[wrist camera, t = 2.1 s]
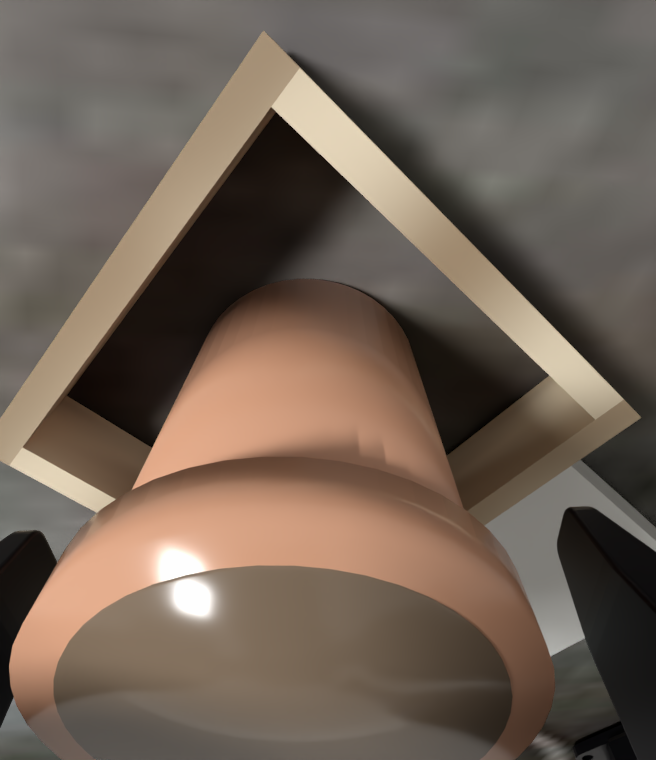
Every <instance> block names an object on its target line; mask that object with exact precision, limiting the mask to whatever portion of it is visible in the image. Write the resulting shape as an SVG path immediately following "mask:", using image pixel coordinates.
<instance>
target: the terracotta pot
mask: <svg viewBox="0 0 656 760" xmlns="http://www.w3.org/2000/svg"><path fill="white" fill-rule="evenodd" d="M9 673H10V686H11V690H12V693H13V696H14V699H15V702H16V705H17V707H18V709H19V711H20V712H21V714H22V716H23V718H24V719H25V721H26V723H27V725H28V726H29V727H30V728H31V729H32V731H33V732H34V733H35V734H36V735H37V737H38V738H39V739H40V740H41V741H42V742H43V743H44V744H45V745H46V746H47V747H48V748H49V749H50V750H51V751H53V752H54V753H55V754H56V755H57V756H58V757H59V758H61V759H62V760H515V759H516V758H517V757H518V756H519V755H520V754H521V753H522V752H523V751H524V750H525V749H526V748H527V747H528V746H529V745H530V744H531V743H532V741H533V740H534V739H535V737H536V736H537V734H538V733H539V731H540V730H541V728H542V727H543V725H544V723H545V721H546V719H547V716H548V714H549V712H550V709H551V707H552V702H553V696H554V691H555V678H554V666H553V663H552V660H551V657H550V654H549V650H548V647H547V645H546V642H545V640H544V637H543V634H542V632H541V629H540V627H539V624H538V622H537V619H536V617H535V614H534V612H533V609H532V607H531V604H530V602H529V599H528V597H527V594H526V592H525V589H524V586H523V584H522V581H521V579H520V576H519V574H518V571H517V569H516V567H515V566H514V564H513V562H512V560H511V558H510V557H509V555H508V553H507V551H506V550H505V548H504V547H503V546H502V545H501V544H500V542H499V541H498V540H497V539H496V538H495V536H494V535H493V534H492V533H491V532H490V530H489V529H487V528H486V527H485V526H484V525H483V524H482V523H481V522H479V521H478V520H477V519H476V518H475V517H474V516H472V515H471V514H470V513H469V512H468V511H466V510H465V509H464V508H463V505H462V502H461V499H460V496H459V493H458V490H457V487H456V484H455V481H454V478H453V474H452V471H451V468H450V465H449V462H448V459H447V456H446V453H445V450H444V447H443V444H442V441H441V438H440V435H439V432H438V429H437V425H436V422H435V419H434V416H433V413H432V410H431V407H430V404H429V401H428V398H427V395H426V392H425V389H424V386H423V383H422V380H421V376H420V373H419V370H418V367H417V364H416V361H415V358H414V355H413V352H412V349H411V346H410V344H409V341H408V339H407V337H406V335H405V333H404V331H403V330H402V328H401V327H400V325H399V324H398V322H397V321H396V320H395V318H394V317H393V316H392V315H391V314H390V313H389V312H388V311H387V310H386V309H385V308H384V307H383V306H381V305H380V304H379V303H377V302H376V301H375V300H374V299H372V298H371V297H369V296H367V295H365V294H364V293H362V292H360V291H358V290H356V289H353V288H351V287H348V286H346V285H343V284H339V283H335V282H331V281H325V280H318V279H293V280H285V281H280V282H276V283H272V284H268V285H265V286H263V287H260V288H258V289H255V290H253V291H251V292H250V293H248V294H246V295H244V296H242V297H241V298H239V299H238V300H237V301H236V302H234V303H233V304H232V305H230V306H229V307H228V308H227V309H226V310H225V311H224V312H223V313H222V314H221V315H220V316H219V318H218V319H217V321H216V322H215V323H214V325H213V326H212V328H211V329H210V331H209V333H208V335H207V337H206V339H205V341H204V343H203V345H202V347H201V349H200V352H199V354H198V356H197V358H196V360H195V362H194V364H193V366H192V368H191V370H190V372H189V374H188V376H187V378H186V380H185V382H184V384H183V386H182V388H181V390H180V392H179V394H178V396H177V398H176V401H175V403H174V405H173V407H172V409H171V411H170V413H169V415H168V417H167V419H166V421H165V423H164V425H163V427H162V429H161V431H160V433H159V435H158V437H157V439H156V441H155V443H154V445H153V447H152V450H151V452H150V454H149V456H148V458H147V460H146V462H145V464H144V466H143V468H142V470H141V472H140V474H139V476H138V478H137V480H136V482H135V484H134V486H133V488H132V490H131V491H129V492H127V493H125V494H123V495H122V496H120V497H119V498H117V499H116V500H114V501H113V502H111V503H110V504H108V505H107V506H105V507H104V508H102V509H101V510H99V511H98V512H97V513H96V514H95V515H94V516H93V517H92V518H91V519H90V520H89V521H88V522H87V523H86V524H85V525H83V526H82V527H81V528H80V530H79V531H78V532H77V534H76V535H75V536H74V538H73V539H72V540H71V542H70V543H69V544H68V546H67V547H66V549H65V550H64V552H63V554H62V556H61V557H60V559H59V561H58V563H57V564H56V566H55V568H54V570H53V571H52V573H51V575H50V577H49V578H48V580H47V582H46V584H45V585H44V587H43V589H42V591H41V592H40V594H39V596H38V598H37V599H36V601H35V603H34V605H33V606H32V608H31V610H30V612H29V613H28V615H27V617H26V619H25V620H24V622H23V624H22V626H21V628H20V630H19V633H18V635H17V637H16V639H15V641H14V644H13V646H12V652H11V658H10V663H9Z"/></svg>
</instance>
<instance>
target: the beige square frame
mask: <svg viewBox="0 0 656 760" xmlns="http://www.w3.org/2000/svg"><path fill="white" fill-rule="evenodd" d="M276 112H277V113H278V114H279V115H280V116H281V117H282V118H283V119H284V120H285V121H286V122H287V123H288V124H289V125H290V126H291V127H293V128H294V129H295V130H296V131H297V132H298V133H299V134H300V135H301V136H302V137H303V138H304V139H305V140H306V141H307V142H308V143H309V144H310V145H311V146H312V147H313V148H314V149H315V150H316V151H317V152H318V153H319V154H320V155H322V156H323V157H324V158H325V159H326V160H327V161H328V162H329V163H330V164H331V165H332V166H333V167H334V168H335V169H336V170H337V171H338V172H339V173H340V174H341V175H342V176H343V177H344V178H345V179H346V180H347V181H348V182H349V183H351V184H352V185H353V186H354V187H355V188H356V189H357V190H358V191H359V192H360V193H361V194H362V195H363V196H364V197H365V198H366V199H367V200H368V201H369V202H370V203H371V204H372V205H373V206H374V207H375V208H376V209H377V210H379V211H380V212H381V213H382V214H383V215H384V216H385V217H386V218H387V219H388V220H389V221H390V222H391V223H392V224H393V225H394V226H395V227H396V228H397V229H398V230H399V231H400V232H401V233H402V234H403V235H404V236H405V237H406V238H408V239H409V240H410V241H411V242H412V243H413V244H414V245H415V246H416V247H417V248H418V249H419V250H420V251H421V252H422V253H423V254H424V255H425V256H426V257H427V258H428V259H429V260H430V261H431V262H432V263H433V264H434V265H435V266H437V267H438V268H439V269H440V270H441V271H442V272H443V273H444V274H445V275H446V276H447V277H448V278H449V279H450V280H451V281H452V282H453V283H454V284H455V285H456V286H457V287H458V288H459V289H460V290H461V291H462V292H463V293H465V294H466V295H467V296H468V297H469V298H470V299H471V300H472V301H473V302H474V303H475V304H476V305H477V306H478V307H479V308H480V309H481V310H482V311H483V312H484V313H485V314H486V315H487V316H488V317H489V318H490V319H491V320H492V321H494V322H495V323H496V324H497V325H498V326H499V327H500V328H501V329H502V330H503V331H504V332H505V333H506V334H507V335H508V336H509V337H510V338H511V339H512V340H513V341H514V342H515V343H516V344H517V345H518V346H519V347H520V348H521V349H523V350H524V351H525V352H526V353H527V354H528V355H529V356H530V357H531V358H532V359H533V360H534V361H535V362H536V363H537V364H538V365H539V366H540V367H541V368H542V369H543V370H544V371H545V372H546V373H547V374H548V375H549V376H548V377H547V378H546V379H544V380H543V381H542V382H540V383H539V384H538V385H537V386H535V387H534V388H533V389H532V390H530V391H529V392H528V393H526V394H525V395H524V396H523V397H521V398H520V399H519V400H517V401H516V402H515V403H514V404H512V405H511V406H510V407H509V408H507V409H506V410H505V411H503V412H502V413H501V414H500V415H498V416H497V417H496V418H494V419H493V420H492V421H491V422H489V423H488V424H487V425H486V426H484V427H483V428H482V429H480V430H479V431H478V432H477V433H475V434H474V435H473V436H471V437H470V438H469V439H468V440H466V441H465V442H464V443H463V444H461V445H460V446H459V447H457V448H456V449H455V450H454V451H452V452H451V453H450V454H448V455H447V459H448V462H449V465H450V468H451V471H452V474H453V478H454V481H455V484H456V487H457V490H458V493H459V496H460V499H461V502H462V505H463V508H464V509H465V510H466V511H468V512H469V513H470V514H471V515H472V516H474V517H475V518H476V519H477V520H478V521H479V522H481V523H482V524H483V525H484V526H485V525H486V524H487V523H489V522H490V521H492V520H493V519H495V518H496V517H498V516H499V515H501V514H502V513H503V512H505V511H506V510H508V509H509V508H511V507H512V506H514V505H515V504H517V503H518V502H519V501H521V500H522V499H524V498H525V497H527V496H528V495H530V494H531V493H533V492H534V491H535V490H537V489H538V488H540V487H541V486H543V485H544V484H546V483H547V482H549V481H550V480H551V479H553V478H554V477H556V476H557V475H559V474H560V473H562V472H563V471H565V470H566V469H567V468H569V467H570V466H572V465H573V464H575V463H576V462H578V461H579V460H581V459H582V458H583V457H585V456H586V455H588V454H589V453H591V452H592V451H594V450H595V449H597V448H598V447H599V446H601V445H602V444H604V443H605V442H607V441H608V440H610V439H611V438H613V437H614V436H615V435H617V434H618V433H620V432H621V431H623V430H624V429H626V428H627V427H629V426H630V425H631V424H633V423H634V422H636V421H637V420H639V419H640V418H641V417H640V415H639V414H638V413H637V412H636V411H635V410H634V409H633V408H632V407H631V406H630V405H629V404H628V403H627V402H626V401H625V400H624V399H623V398H622V397H621V396H620V395H619V394H618V393H617V392H616V391H615V390H614V388H613V387H612V386H611V385H610V384H609V383H608V382H607V381H606V380H605V379H604V378H603V377H602V376H601V375H600V374H599V373H598V372H597V371H596V370H595V369H594V368H593V367H592V366H591V365H590V364H589V363H588V362H587V361H586V360H585V358H584V357H583V356H582V355H581V354H580V353H579V352H578V351H577V350H576V349H575V348H574V347H573V346H572V345H571V344H570V343H569V342H568V341H567V340H566V339H565V338H564V337H563V336H562V335H561V334H560V333H559V332H558V331H557V330H556V329H555V328H554V327H553V326H552V325H551V324H550V323H549V322H548V321H547V320H546V319H545V318H544V316H543V315H542V314H541V313H540V312H539V311H538V310H537V309H536V308H535V307H534V306H533V305H532V304H531V303H530V302H529V301H528V300H527V299H526V298H525V297H524V296H523V295H522V294H521V293H520V292H519V291H518V290H517V289H516V288H515V287H514V286H513V285H512V284H511V283H510V282H509V281H508V280H507V279H506V278H505V277H504V276H503V274H502V273H501V272H500V271H499V270H498V269H497V268H496V267H495V266H494V265H493V264H492V263H491V262H490V261H489V260H488V259H487V258H486V257H485V256H484V255H483V254H482V253H481V252H480V251H479V250H478V249H477V248H476V247H475V246H474V245H473V244H472V243H471V242H470V241H469V240H468V239H467V238H466V237H465V236H464V235H463V234H462V232H461V231H460V230H459V229H458V228H457V227H456V226H455V225H454V224H453V223H452V222H451V221H450V220H449V219H448V218H447V217H446V216H445V215H444V214H443V213H442V212H441V211H440V210H439V209H438V208H437V207H436V206H435V205H434V204H433V203H432V202H431V201H430V200H429V199H428V198H427V197H426V196H425V195H424V194H423V193H422V192H421V190H420V189H419V188H418V187H417V186H416V185H415V184H414V183H413V182H412V181H411V180H410V179H409V178H408V177H407V176H406V175H405V174H404V173H403V172H402V171H401V170H400V169H399V168H398V167H397V166H396V165H395V164H394V163H393V162H392V161H391V160H390V159H389V158H388V157H387V156H386V155H385V154H384V153H383V152H382V151H381V150H380V148H379V147H378V146H377V145H376V144H375V143H374V142H373V141H372V140H371V139H370V138H369V137H368V136H367V135H366V134H365V133H364V132H363V131H362V130H361V129H360V128H359V127H358V126H357V125H356V124H355V123H354V122H353V121H352V120H351V119H350V118H349V117H348V116H347V115H346V114H345V113H344V112H343V111H342V110H341V109H340V108H339V106H338V105H337V104H336V103H335V102H334V101H333V100H332V99H331V98H330V97H329V96H328V95H327V94H326V93H325V92H324V91H323V90H322V89H321V88H320V87H319V86H318V85H317V84H316V83H315V82H314V81H313V80H312V79H311V78H310V77H309V76H308V75H307V74H306V73H305V72H304V71H303V70H302V69H301V68H300V67H299V66H298V64H297V63H296V62H295V61H294V60H293V59H292V58H291V57H290V56H289V55H288V54H287V53H286V52H285V51H284V50H283V49H282V48H281V47H280V46H279V45H278V44H277V43H276V42H275V41H274V40H273V39H272V38H271V37H270V36H269V35H268V34H266V33H265V32H264V31H263V32H262V34H261V35H260V36H259V38H258V39H257V41H256V42H255V44H254V45H253V47H252V48H251V50H250V51H249V53H248V54H247V56H246V57H245V59H244V60H243V62H242V63H241V64H240V66H239V67H238V69H237V70H236V72H235V73H234V75H233V76H232V78H231V79H230V81H229V82H228V84H227V85H226V87H225V88H224V90H223V91H222V93H221V94H220V95H219V97H218V98H217V100H216V101H215V103H214V104H213V106H212V107H211V109H210V110H209V112H208V113H207V115H206V116H205V118H204V119H203V121H202V122H201V123H200V125H199V126H198V128H197V129H196V131H195V132H194V134H193V135H192V137H191V138H190V140H189V141H188V143H187V144H186V146H185V147H184V149H183V150H182V151H181V153H180V154H179V156H178V157H177V159H176V160H175V162H174V163H173V165H172V166H171V168H170V169H169V171H168V172H167V174H166V175H165V177H164V178H163V179H162V181H161V182H160V184H159V185H158V187H157V188H156V190H155V191H154V193H153V194H152V196H151V197H150V199H149V200H148V202H147V203H146V205H145V206H144V207H143V209H142V210H141V212H140V213H139V215H138V216H137V218H136V219H135V221H134V222H133V224H132V225H131V227H130V228H129V230H128V231H127V233H126V234H125V235H124V237H123V238H122V240H121V241H120V243H119V244H118V246H117V247H116V249H115V250H114V252H113V253H112V255H111V256H110V258H109V259H108V261H107V262H106V264H105V265H104V266H103V268H102V269H101V271H100V272H99V274H98V275H97V277H96V278H95V280H94V281H93V283H92V284H91V286H90V287H89V289H88V290H87V292H86V293H85V294H84V296H83V297H82V299H81V300H80V302H79V303H78V305H77V306H76V308H75V309H74V311H73V312H72V314H71V315H70V317H69V318H68V320H67V321H66V322H65V324H64V325H63V327H62V328H61V330H60V331H59V333H58V334H57V336H56V337H55V339H54V340H53V342H52V343H51V345H50V346H49V348H48V349H47V350H46V352H45V353H44V355H43V356H42V358H41V359H40V361H39V362H38V364H37V365H36V367H35V368H34V370H33V371H32V373H31V374H30V376H29V377H28V378H27V380H26V381H25V383H24V384H23V386H22V387H21V389H20V390H19V392H18V393H17V395H16V396H15V398H14V399H13V401H12V402H11V404H10V405H9V407H8V408H7V409H6V411H5V412H4V414H3V415H2V417H1V418H0V461H2V462H4V463H5V464H7V465H9V466H11V467H13V468H15V469H17V470H18V471H20V472H22V473H24V474H26V475H28V476H30V477H31V478H33V479H35V480H37V481H39V482H41V483H43V484H44V485H46V486H48V487H50V488H52V489H54V490H56V491H57V492H59V493H61V494H63V495H65V496H67V497H69V498H70V499H72V500H74V501H76V502H78V503H80V504H82V505H83V506H85V507H87V508H89V509H91V510H93V511H95V512H96V513H97V512H98V511H99V510H101V509H102V508H104V507H105V506H107V505H108V504H110V503H111V502H113V501H114V500H116V499H117V498H119V497H120V496H122V495H123V494H125V493H127V492H129V491H131V490H132V488H133V486H134V484H135V482H136V480H137V478H138V476H139V474H140V472H141V470H142V468H143V466H144V464H145V462H146V460H147V458H148V456H149V454H150V452H151V450H152V448H151V447H150V446H148V445H146V444H145V443H143V442H141V441H140V440H138V439H137V438H135V437H133V436H132V435H130V434H128V433H127V432H125V431H124V430H122V429H120V428H119V427H117V426H115V425H114V424H112V423H110V422H109V421H107V420H106V419H104V418H102V417H101V416H99V415H97V414H96V413H94V412H92V411H91V410H89V409H88V408H86V407H84V406H83V405H81V404H79V403H78V402H76V401H74V400H73V399H71V398H70V397H68V396H67V394H68V393H69V392H70V390H71V389H72V388H73V386H74V385H75V384H76V382H77V381H78V380H79V378H80V377H81V376H82V374H83V373H84V371H85V370H86V369H87V367H88V366H89V365H90V363H91V362H92V361H93V359H94V358H95V357H96V355H97V354H98V353H99V351H100V350H101V348H102V347H103V346H104V344H105V343H106V342H107V340H108V339H109V338H110V336H111V335H112V334H113V332H114V331H115V329H116V328H117V327H118V325H119V324H120V323H121V321H122V320H123V319H124V317H125V316H126V315H127V313H128V312H129V311H130V309H131V308H132V306H133V305H134V304H135V302H136V301H137V300H138V298H139V297H140V296H141V294H142V293H143V292H144V290H145V289H146V287H147V286H148V285H149V283H150V282H151V281H152V279H153V278H154V277H155V275H156V274H157V273H158V271H159V270H160V269H161V267H162V266H163V264H164V263H165V262H166V260H167V259H168V258H169V256H170V255H171V254H172V252H173V251H174V250H175V248H176V247H177V246H178V244H179V243H180V241H181V240H182V239H183V237H184V236H185V235H186V233H187V232H188V231H189V229H190V228H191V227H192V225H193V224H194V222H195V221H196V220H197V218H198V217H199V216H200V214H201V213H202V212H203V210H204V209H205V208H206V206H207V205H208V204H209V202H210V201H211V199H212V198H213V197H214V195H215V194H216V193H217V191H218V190H219V189H220V187H221V186H222V185H223V183H224V182H225V180H226V179H227V178H228V176H229V175H230V174H231V172H232V171H233V170H234V168H235V167H236V166H237V164H238V163H239V162H240V160H241V159H242V157H243V156H244V155H245V153H246V152H247V151H248V149H249V148H250V147H251V145H252V144H253V143H254V141H255V140H256V139H257V137H258V136H259V134H260V133H261V132H262V130H263V129H264V128H265V126H266V125H267V124H268V122H269V121H270V120H271V118H272V117H273V115H274V114H275V113H276Z"/></svg>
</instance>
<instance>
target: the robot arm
mask: <svg viewBox="0 0 656 760" xmlns="http://www.w3.org/2000/svg"><path fill="white" fill-rule="evenodd" d="M557 552H558V556H559V559H560V562H561V565H562V569H563V572H564V575H565V578H566V581H567V584H568V587H569V590H570V593H571V597H572V600H573V603H574V606H575V609H576V612H577V615H578V618H579V621H580V625H581V628H582V631H583V634H584V636H585V639H586V642H587V645H588V647H589V650H590V652H591V655H592V657H593V659H594V662H595V664H596V666H597V669H598V671H599V673H600V675H601V678H602V680H603V682H604V684H605V687H606V689H607V691H608V693H609V696H610V698H611V700H612V703H613V705H614V707H615V709H616V712H617V714H618V716H619V718H620V721H621V723H622V725H619V726H617V727H615V728H612V729H610V730H608V731H606V732H603V733H601V734H599V735H596V736H594V737H592V738H590V739H587V740H585V741H583V742H581V743H578V744H576V745H575V746H574V747H573V748H572V750H573V753H574V755H575V758H576V760H656V551H654V550H653V549H652V548H650V547H649V546H647V545H646V544H645V543H643V542H642V541H640V540H639V539H638V538H636V537H635V536H633V535H632V534H631V533H629V532H628V531H626V530H625V529H624V528H622V527H621V526H619V525H618V524H617V523H615V522H614V521H612V520H611V519H610V518H608V517H607V516H605V515H604V514H603V513H601V512H600V511H598V510H597V509H595V508H593V507H590V506H581V507H569V508H567V509H566V510H565V511H564V514H563V518H562V522H561V526H560V530H559V534H558V538H557ZM56 564H57V561H56V559H55V556H54V554H53V552H52V550H51V548H50V546H49V544H48V542H47V540H46V538H45V536H44V534H43V533H42V532H40V531H37V530H29V531H17V532H14V533H12V534H10V535H9V536H7V537H6V538H4V539H3V540H2V541H0V727H1V725H2V723H3V720H4V718H5V716H6V713H7V711H8V709H9V707H10V704H11V702H12V700H13V697H14V696H13V693H12V690H11V686H10V673H9V663H10V658H11V652H12V646H13V644H14V641H15V639H16V637H17V635H18V633H19V630H20V628H21V626H22V624H23V622H24V620H25V619H26V617H27V615H28V613H29V612H30V610H31V608H32V606H33V605H34V603H35V601H36V599H37V598H38V596H39V594H40V592H41V591H42V589H43V587H44V585H45V584H46V582H47V580H48V578H49V577H50V575H51V573H52V571H53V570H54V568H55V566H56Z"/></svg>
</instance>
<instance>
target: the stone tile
mask: <svg viewBox="0 0 656 760" xmlns="http://www.w3.org/2000/svg"><path fill="white" fill-rule="evenodd" d="M581 506H590V507H593V508H595V509H597V510H598V511H600V512H601V513H603V514H604V515H605V516H607V517H608V518H610V519H611V520H612V521H614V522H615V523H617V524H618V525H619V526H621V527H622V528H624V529H625V530H626V531H628V532H629V533H631V534H632V535H633V536H635V537H636V538H638V539H639V540H640V541H642V542H643V543H645V544H646V545H647V546H649V547H650V548H652V549H653V550H654V551H656V527H655V526H653V525H652V524H651V523H650V522H649V521H648V520H647V519H646V518H645V517H643V516H642V515H641V514H640V513H639V512H638V511H637V510H636V509H635V508H633V507H632V506H631V505H630V504H629V503H628V502H627V501H626V500H625V499H624V498H622V497H621V496H620V495H619V494H618V493H617V492H616V491H615V490H614V489H612V488H611V487H610V486H609V485H608V484H607V483H606V482H605V481H604V480H602V479H601V478H600V477H599V476H598V475H597V474H596V473H595V472H594V471H592V470H591V469H590V468H589V467H588V466H587V465H586V464H585V463H584V462H582V461H581V460H579V461H578V462H576V463H575V464H573V465H572V466H570V467H569V468H567V469H566V470H565V471H563V472H562V473H560V474H559V475H557V476H556V477H554V478H553V479H551V480H550V481H549V482H547V483H546V484H544V485H543V486H541V487H540V488H538V489H537V490H535V491H534V492H533V493H531V494H530V495H528V496H527V497H525V498H524V499H522V500H521V501H519V502H518V503H517V504H515V505H514V506H512V507H511V508H509V509H508V510H506V511H505V512H503V513H502V514H501V515H499V516H498V517H496V518H495V519H493V520H492V521H490V522H489V523H487V524H486V525H485V527H486V528H487V529H489V530H490V532H491V533H492V534H493V535H494V536H495V538H496V539H497V540H498V541H499V542H500V544H501V545H502V546H503V547H504V548H505V550H506V551H507V553H508V555H509V557H510V558H511V560H512V562H513V564H514V566H515V567H516V569H517V571H518V574H519V576H520V579H521V581H522V584H523V586H524V589H525V592H526V594H527V597H528V599H529V602H530V604H531V607H532V609H533V612H534V614H535V617H536V619H537V622H538V624H539V627H540V629H541V632H542V634H543V637H544V640H545V642H546V645H547V647H548V650H549V654H550V656H552V655H554V654H556V653H558V652H560V651H561V650H563V649H565V648H567V647H569V646H571V645H573V644H575V643H577V642H578V641H580V640H582V639H584V638H585V636H584V634H583V631H582V628H581V625H580V621H579V618H578V615H577V612H576V609H575V606H574V603H573V600H572V597H571V593H570V590H569V587H568V584H567V581H566V578H565V575H564V572H563V569H562V565H561V562H560V559H559V556H558V552H557V538H558V534H559V530H560V526H561V522H562V518H563V514H564V511H565V510H566V509H567V508H569V507H581Z"/></svg>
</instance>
